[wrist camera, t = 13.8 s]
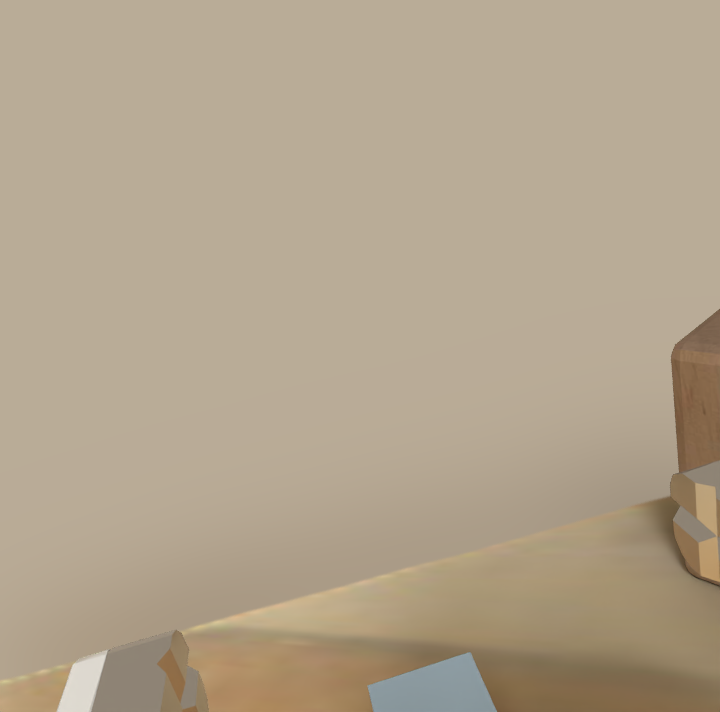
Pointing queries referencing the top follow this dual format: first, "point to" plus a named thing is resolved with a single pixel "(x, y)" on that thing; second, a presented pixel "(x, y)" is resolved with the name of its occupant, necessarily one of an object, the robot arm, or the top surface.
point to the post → (434, 689)
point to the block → (698, 398)
